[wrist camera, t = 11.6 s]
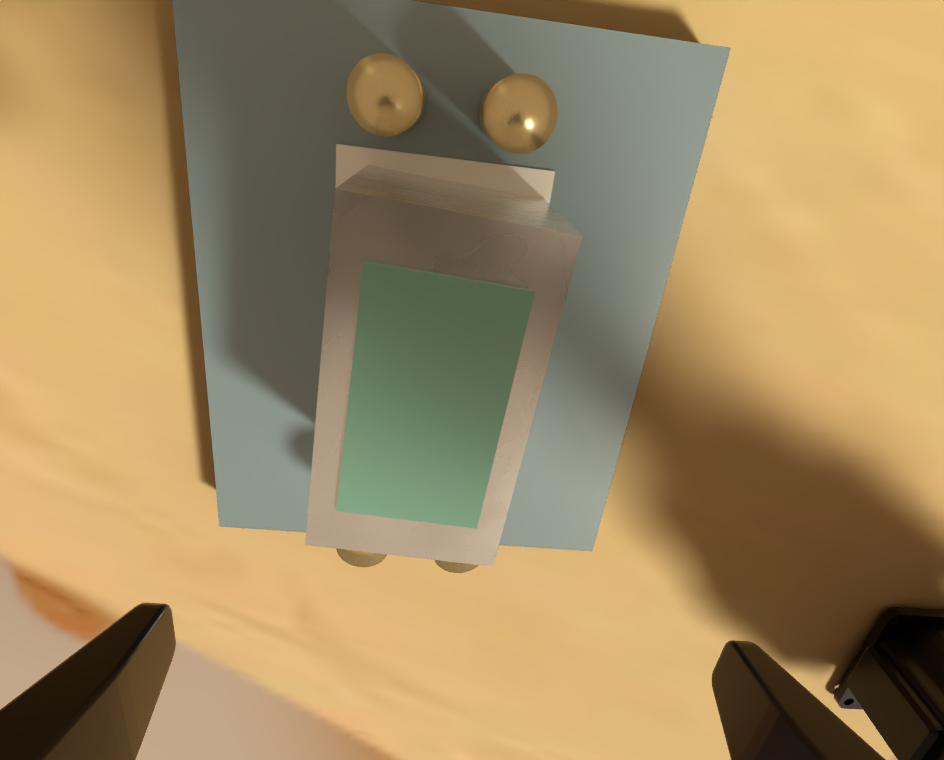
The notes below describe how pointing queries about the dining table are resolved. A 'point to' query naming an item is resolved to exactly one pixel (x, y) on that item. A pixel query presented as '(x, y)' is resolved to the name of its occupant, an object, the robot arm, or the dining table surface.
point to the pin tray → (439, 156)
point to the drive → (431, 362)
